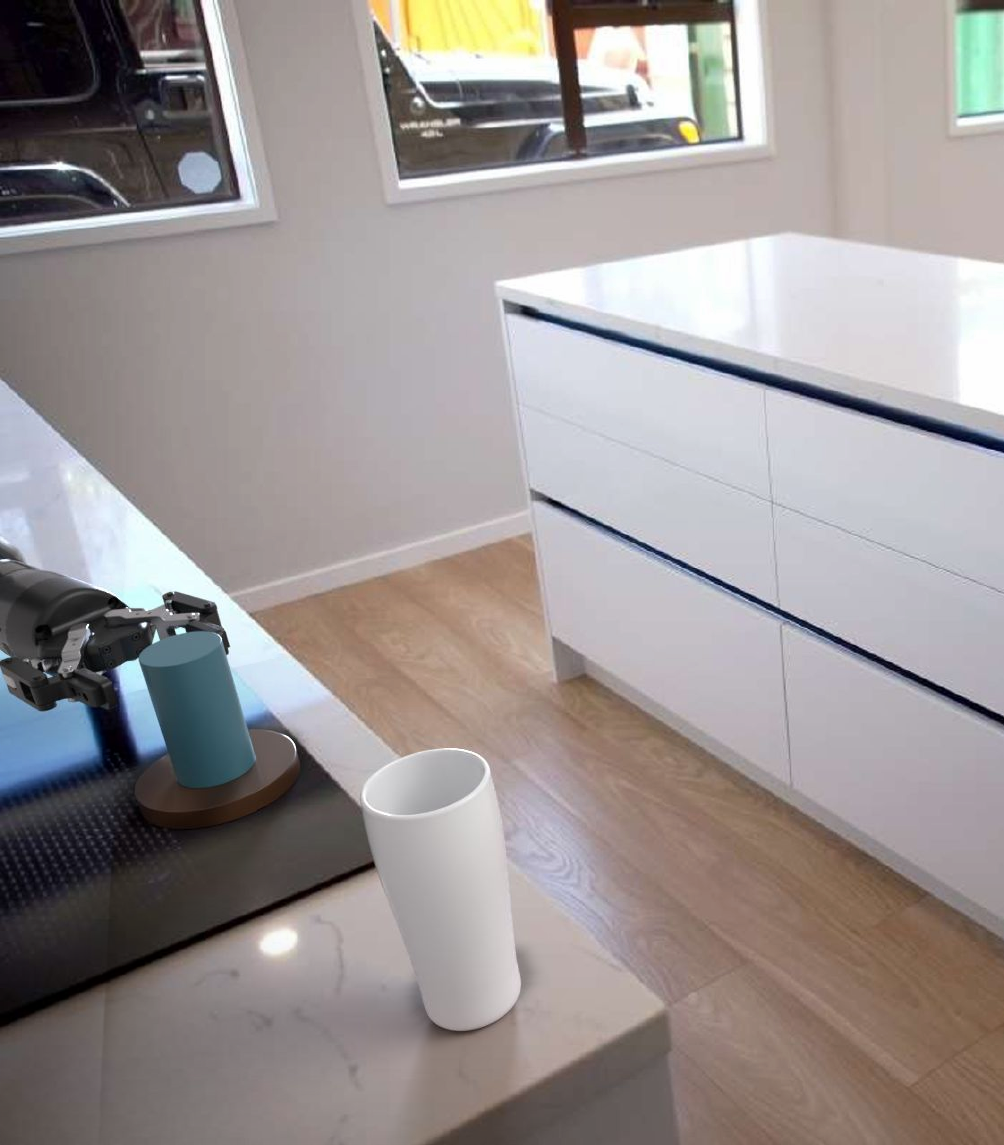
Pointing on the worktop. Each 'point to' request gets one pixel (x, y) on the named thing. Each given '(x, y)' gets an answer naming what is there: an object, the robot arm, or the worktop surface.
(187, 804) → the walnut disc
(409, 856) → the drinking glass
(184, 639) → the cylinder
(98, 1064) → the worktop surface
